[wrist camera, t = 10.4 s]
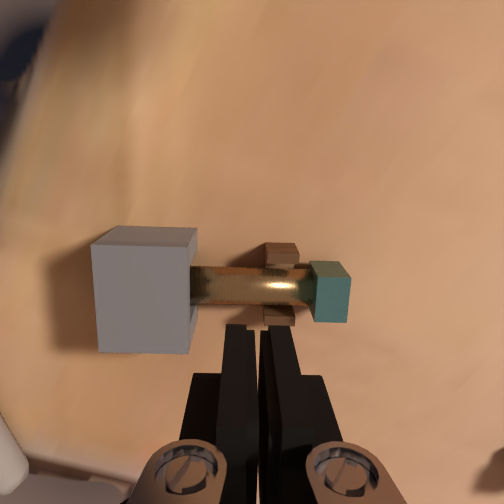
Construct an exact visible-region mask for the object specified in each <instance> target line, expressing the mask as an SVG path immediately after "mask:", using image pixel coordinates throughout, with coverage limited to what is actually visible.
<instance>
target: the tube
mask: <svg viewBox="0 0 504 504" xmlns="http://www.w3.org/2000/svg"><path fill="white" fill-rule="evenodd" d="M28 475H29V463H28V460H27V457H26V456H25V454H24V452H23V451H22V449H21V447H20V446H19V444H18V442H17V440H16V439H15V437H14V435H13V434H12V432H11V430H10V429H9V427H8V425H7V424H6V422H5V420H4V418H3V417H2V415H1V413H0V495H9V494H10V493H11V492H12V491H13V490H14V489H15V488H16V487H17V486H18V485H19V484H20V483H21V482H22V481H23V480H24V479H25V478H26V477H27V476H28Z"/></svg>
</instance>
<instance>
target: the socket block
mask: <svg viewBox="0 0 504 504" xmlns="http://www.w3.org/2000/svg"><path fill="white" fill-rule="evenodd" d="M196 250H197V228H176V227H141V226H116V227H115V228H114V229H112V230H111V231H109V232H108V233H106V234H105V235H104V236H102V237H101V238H99V239H98V240H96V241H95V242H94V243H92V244H91V258H92V271H93V285H94V298H95V311H96V324H97V337H98V350H99V352H101V353H150V354H188V353H189V349H190V345H191V341H192V337H193V333H194V330H195V326H196V322H197V303H190V265H191V262H192V260H193V258H194V255H195V253H196Z"/></svg>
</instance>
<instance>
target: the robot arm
mask: <svg viewBox="0 0 504 504" xmlns="http://www.w3.org/2000/svg"><path fill="white" fill-rule="evenodd" d="M257 473H258V474H259V498H260V504H407V503H406V501H405V500H404V498H403V496H402V495H401V493H400V491H399V490H398V488H397V487H396V485H395V483H394V482H393V480H392V478H391V477H390V475H389V474H388V472H387V470H386V469H385V467H384V466H383V464H382V463H381V462H380V461H379V460H378V458H377V457H376V456H374V455H373V454H372V453H370V452H369V451H368V450H366V449H364V448H362V447H360V446H358V445H355V444H351V443H347V442H343V439H342V436H341V433H340V430H339V427H338V424H337V421H336V418H335V414H334V411H333V408H332V405H331V402H330V399H329V396H328V393H327V390H326V387H325V384H324V381H323V378H322V376H320V375H301V372H300V367H299V363H298V359H297V355H296V351H295V347H294V342H293V338H292V334H291V330H290V326H285V325H269V327H268V331H266V330H261V333H260V354H259V378H258V389H257V370H256V351H255V332H254V330H247V328H246V325H241V324H226V331H225V341H224V352H223V362H222V372H221V373H194V374H193V377H192V381H191V386H190V391H189V395H188V400H187V405H186V409H185V414H184V419H183V423H182V428H181V432H180V437H179V441H174V442H171V443H169V444H167V445H165V446H163V447H161V448H160V449H159V450H157V451H156V452H155V453H154V454H153V455H152V456H151V458H150V459H149V460H148V462H147V463H146V465H145V467H144V469H143V471H142V473H141V475H140V477H139V479H138V481H137V483H136V485H135V487H134V489H133V491H132V493H131V495H130V497H129V498H128V499H126V500H125V501H123V502H122V503H120V504H256V495H257Z"/></svg>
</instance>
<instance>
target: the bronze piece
mask: <svg viewBox="0 0 504 504" xmlns="http://www.w3.org/2000/svg"><path fill="white" fill-rule="evenodd" d="M350 286H351V277H350V275H349V274H348V273H347V272H346V270H345V269H344V268H343V266H342V265H341V264H340V262H338V261H309V269H286V268H248V267H210V266H190V303H213V304H255V305H297V306H309V309H310V312H311V314H312V317H313V320H314V322H335V323H347V314H348V305H349V295H350Z"/></svg>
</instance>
